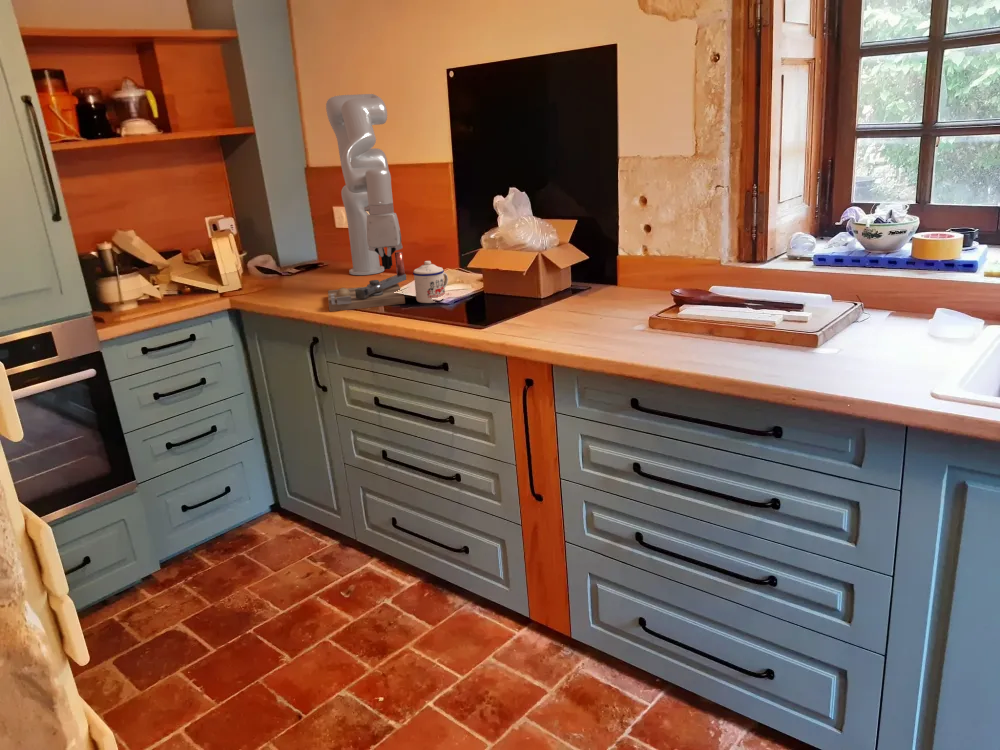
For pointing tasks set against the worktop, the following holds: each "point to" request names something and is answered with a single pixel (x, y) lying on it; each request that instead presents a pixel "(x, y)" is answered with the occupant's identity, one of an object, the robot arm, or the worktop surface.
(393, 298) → the nutcracker base
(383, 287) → the lever
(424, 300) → the teacup with lid
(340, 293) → the walnut
